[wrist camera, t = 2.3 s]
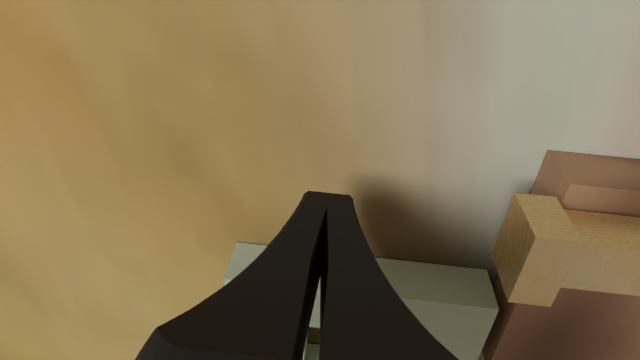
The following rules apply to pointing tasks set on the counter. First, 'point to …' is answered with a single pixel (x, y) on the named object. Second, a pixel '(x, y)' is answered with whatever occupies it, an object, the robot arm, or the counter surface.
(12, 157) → the counter surface
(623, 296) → the socket block
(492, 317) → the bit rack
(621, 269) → the bar
